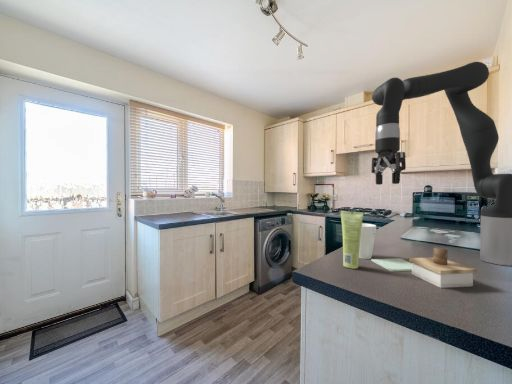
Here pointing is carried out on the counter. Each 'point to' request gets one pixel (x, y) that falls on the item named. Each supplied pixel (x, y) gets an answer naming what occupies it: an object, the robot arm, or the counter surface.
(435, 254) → the lid
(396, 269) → the mat
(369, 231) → the foam cup
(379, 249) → the counter surface
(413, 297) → the counter surface
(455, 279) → the dish
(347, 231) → the tube
